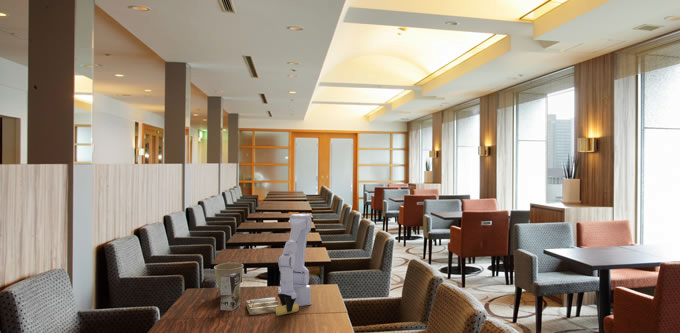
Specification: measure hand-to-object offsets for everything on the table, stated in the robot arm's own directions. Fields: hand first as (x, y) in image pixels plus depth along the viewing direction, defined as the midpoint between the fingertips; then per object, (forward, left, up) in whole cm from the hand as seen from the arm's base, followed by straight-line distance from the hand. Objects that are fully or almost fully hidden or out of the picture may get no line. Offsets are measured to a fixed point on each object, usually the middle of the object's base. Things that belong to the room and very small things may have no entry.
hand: (287, 310), depth 208 cm
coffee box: (+24, -18, -2) cm, 30 cm away
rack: (+9, -11, -2) cm, 14 cm away
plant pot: (+23, -37, -2) cm, 44 cm away
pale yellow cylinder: (0, 0, 0) cm, 0 cm away
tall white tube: (+8, -14, 0) cm, 17 cm away
